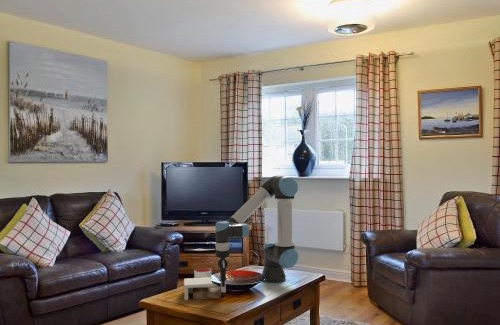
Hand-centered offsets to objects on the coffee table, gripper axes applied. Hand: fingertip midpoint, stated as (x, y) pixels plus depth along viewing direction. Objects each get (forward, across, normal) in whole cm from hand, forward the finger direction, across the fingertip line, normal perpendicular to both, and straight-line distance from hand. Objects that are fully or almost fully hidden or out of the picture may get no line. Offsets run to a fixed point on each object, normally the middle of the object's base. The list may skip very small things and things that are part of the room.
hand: (223, 292), depth 257 cm
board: (+2, +1, -9) cm, 9 cm away
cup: (+2, -18, -10) cm, 21 cm away
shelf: (+2, -1, -14) cm, 14 cm away
